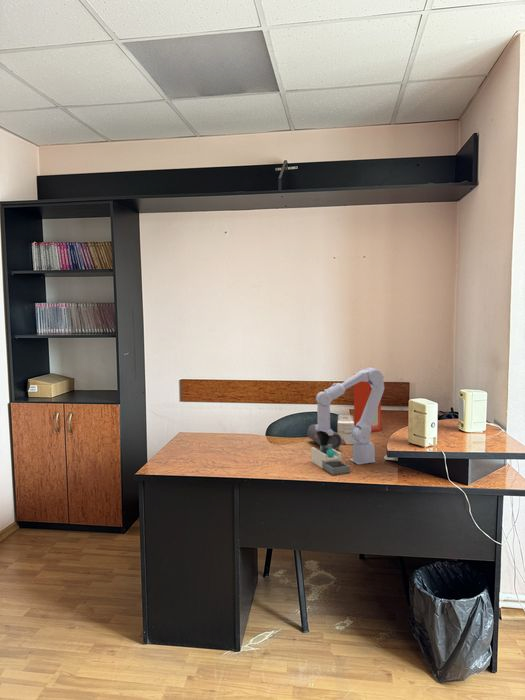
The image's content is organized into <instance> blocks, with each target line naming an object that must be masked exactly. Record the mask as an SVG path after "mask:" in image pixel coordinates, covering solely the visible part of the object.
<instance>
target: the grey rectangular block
mask: <svg viewBox="0 0 525 700" xmlns="http://www.w3.org/2000/svg"><path fill="white" fill-rule="evenodd" d="M328 449H332V444H324V445H320V446H319V450H320V451H321V452H323V453H324V454H327V450H328Z"/></svg>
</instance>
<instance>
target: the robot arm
mask: <svg viewBox="0 0 525 700" xmlns="http://www.w3.org/2000/svg"><path fill="white" fill-rule="evenodd" d="M354 374H355V375H354ZM354 374H353V375H352V376H351V377H349V378H348V379H345V381H343V382H342V383H340V382H337V383H336V382H334V383H332V385H331V386H330V387H328V388H327V389H326V388H325V389H324V390H323V391H319V392H318V393H317V394H316V397H315V401H316V402H317V412H316V413H317V415H316V416H317V424H316V423H315V424H316V425H315V430H319V432H317V435H318V437H319V439H320V443H321V445H324V444H328V440H329V438H330V436H331V435H333V431H334V430H333V429H332V428H331V408H330V407H331V406H330V405H331V403H332V401H334V400H336V399H337V398H339V397H341V396H343V395H344V394H345V392H346V390H347V389H349V388H351V387H354V385H355V384H357V383H359V382H361V381H363V382H369V384H370V386H371V388H372V390H371V393H370V396H369V398H368V401H367V403H366V406H365V409H364V411H363V414H362V416H361V419H360V421H359V422H358V423H357V424H356V426H354V428H353V429H352V432H351V434H352V437H353V438H354V440H353V445H352V458H349V461H351V462H352V463H355V464H356V465H364V464H365V465H366V464H372V463H376V462H377V461H376V459H375V458H376V456H375V452H376V449H375V445H374V443H373V442H372V441H371V433H372V432H371V423H372V420H373V418H374V415H375V413H376V410H377V408H378V405H379V402H380V400H382V397H383V394H384V391H385V382H384V378H385V376H384V374H383V373H382V371H381V370H380V369H379V368H374V367H372V366H367V367H365V368H364V369H360V370H359V371H358V372H356V373H354Z"/></svg>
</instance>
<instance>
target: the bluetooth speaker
mask: <svg viewBox="0 0 525 700" xmlns="http://www.w3.org/2000/svg"><path fill="white" fill-rule="evenodd" d="M315 425H316V423H312V424H310V425H309V426H308V428H307V432H306V434H307V436H308V438H309V439H311V440H312V441H314V443H316V444H317V445H318V444H319V445H321V443H320V439H319V437H318V435H317V432H319V430H315ZM332 431H333V435H331V436H330V438H329V440H328V444H332V448H333V449H334V450H337V449H339V448H340V447H341V446H342V444H341V443H342V440H341V437H340V435H339V434H337V431H334V430H332ZM319 445H318V446H319Z"/></svg>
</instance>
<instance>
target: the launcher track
mask: <svg viewBox="0 0 525 700" xmlns="http://www.w3.org/2000/svg"><path fill="white" fill-rule="evenodd" d="M310 449H311V451H310V452H311V462H312V463H313V464H314V465H316V466H318V468H319V467H320V468H321V469H324V463H329V462H336V461H341V460H342V453H341V452H340V451H338V450H337V449H333V448H332V449H333V450H334V452H335V454H334V456H333V457H329V456H328V455H327V454H324V453H323V452H321V451H320V449H318V448H316V447H313V446H311V448H310Z"/></svg>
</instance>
